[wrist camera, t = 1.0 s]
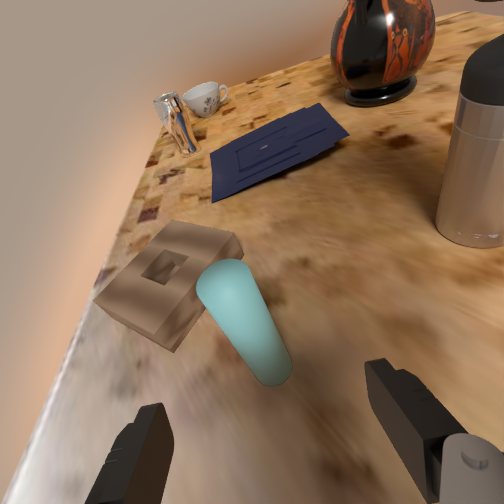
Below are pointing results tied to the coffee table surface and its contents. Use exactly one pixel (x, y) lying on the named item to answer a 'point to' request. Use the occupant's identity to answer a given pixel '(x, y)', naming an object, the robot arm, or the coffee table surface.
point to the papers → (273, 149)
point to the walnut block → (167, 282)
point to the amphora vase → (381, 48)
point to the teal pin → (245, 319)
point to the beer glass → (177, 123)
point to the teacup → (204, 98)
